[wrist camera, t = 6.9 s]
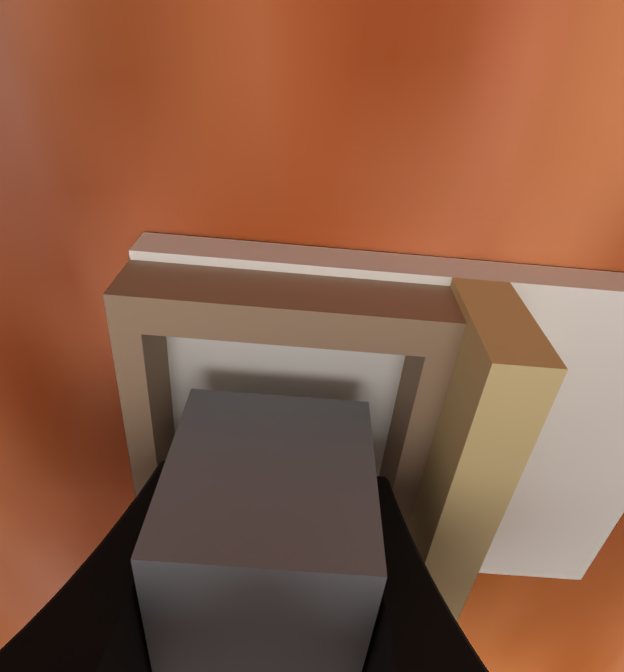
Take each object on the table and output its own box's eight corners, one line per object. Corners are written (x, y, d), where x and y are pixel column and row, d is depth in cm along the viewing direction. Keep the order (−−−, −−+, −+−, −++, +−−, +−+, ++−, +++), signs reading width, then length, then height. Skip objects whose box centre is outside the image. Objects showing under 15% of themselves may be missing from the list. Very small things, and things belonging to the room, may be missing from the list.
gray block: (345, 533, 13) (351, 709, 10) (200, 523, 13) (157, 697, 10) (368, 401, 11) (387, 576, 8) (190, 388, 11) (131, 559, 8)
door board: (725, 280, 11) (890, 395, 8) (568, 551, 17) (628, 686, 14) (143, 232, 11) (64, 329, 8) (174, 523, 17) (135, 655, 13)
